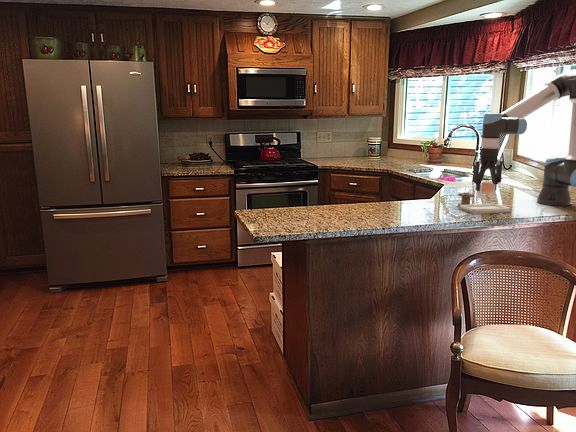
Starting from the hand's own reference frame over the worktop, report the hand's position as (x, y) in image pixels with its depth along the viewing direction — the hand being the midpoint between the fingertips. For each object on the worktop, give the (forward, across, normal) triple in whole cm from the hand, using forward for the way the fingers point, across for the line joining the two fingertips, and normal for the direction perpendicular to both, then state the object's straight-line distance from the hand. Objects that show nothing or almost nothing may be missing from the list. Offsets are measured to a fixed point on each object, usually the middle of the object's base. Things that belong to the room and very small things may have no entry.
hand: (485, 197), depth 228 cm
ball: (-2, 0, 0) cm, 2 cm away
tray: (+6, 0, 0) cm, 6 cm away
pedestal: (+6, +3, -12) cm, 13 cm away
